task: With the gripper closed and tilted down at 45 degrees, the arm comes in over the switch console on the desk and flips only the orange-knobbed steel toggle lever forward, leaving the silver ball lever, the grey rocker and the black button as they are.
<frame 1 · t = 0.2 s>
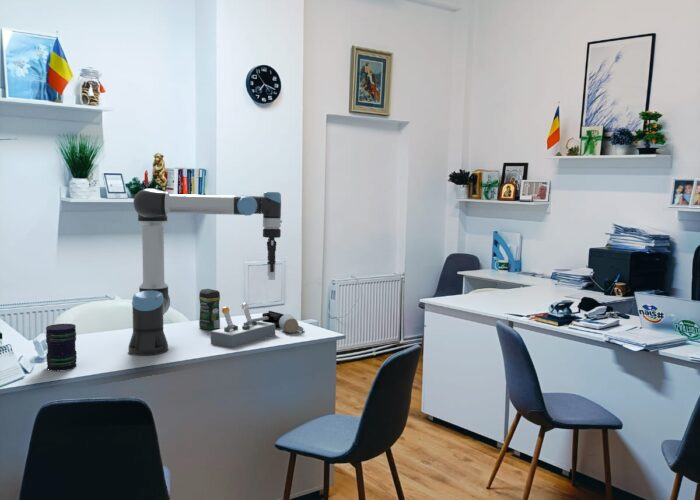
hand: (271, 277, 265), 28 cm above the table, tool pointing down, fingers open, 13 cm apart
console: (244, 339, 271), on the table
ceramic mug: (291, 332, 287), on the table
silver ball lever: (247, 313, 274), point 10 cm above the table, hinge at -25.0°
storage jar: (62, 367, 224), on the table
lever orange: (228, 318, 264), point 10 cm above the table, hinge at -25.0°
coffee jar: (209, 328, 291), on the table
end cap: (274, 326, 298), on the table
rocker grey: (259, 318, 279), point 7 cm above the table, hinge at -12.0°
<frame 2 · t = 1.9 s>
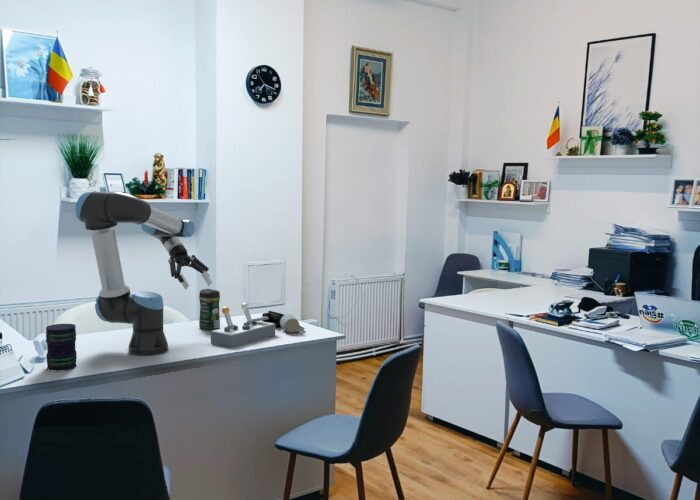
hand: (199, 285, 273), 23 cm above the table, tool tilted 45°, fingers open, 13 cm apart
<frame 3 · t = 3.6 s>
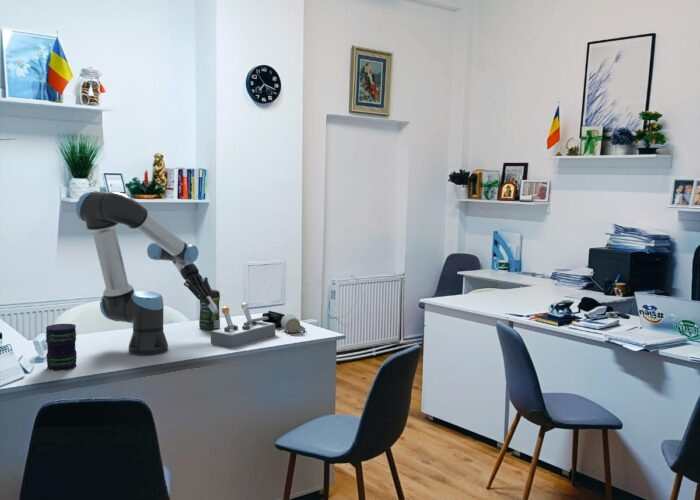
hand: (214, 309, 270), 13 cm above the table, tool tilted 45°, fingers closed
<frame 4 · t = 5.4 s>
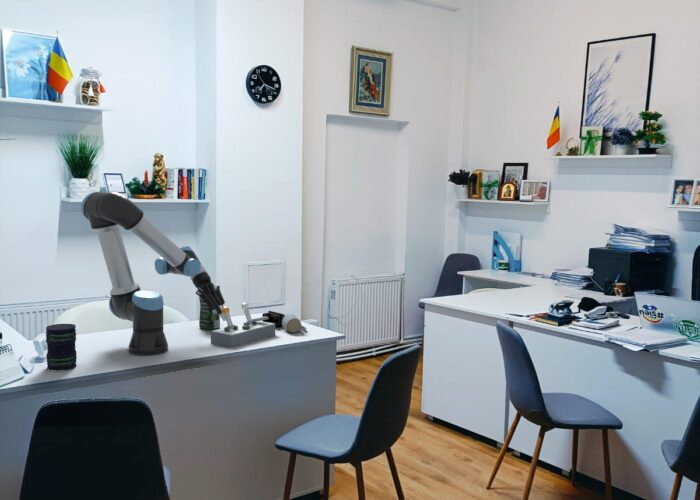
hand: (226, 319, 266), 10 cm above the table, tool tilted 45°, fingers closed
lever orange: (228, 318, 264), point 10 cm above the table, hinge at -24.6°, touching gripper
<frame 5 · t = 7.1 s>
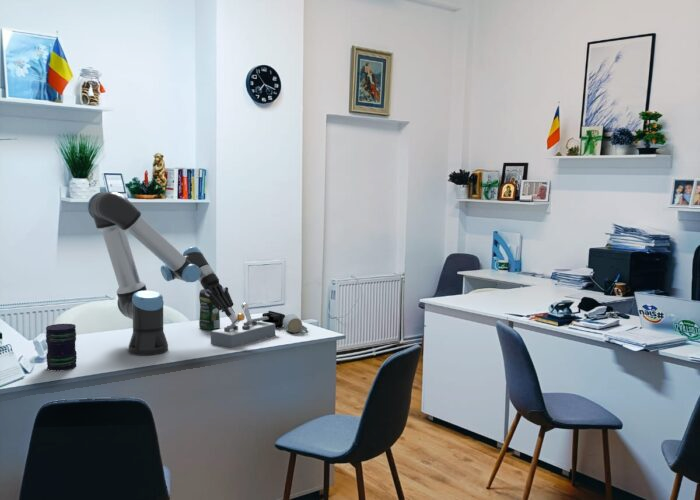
hand: (235, 321, 263), 9 cm above the table, tool tilted 45°, fingers closed
lever orange: (236, 321, 262), point 9 cm above the table, hinge at 47.1°, touching gripper
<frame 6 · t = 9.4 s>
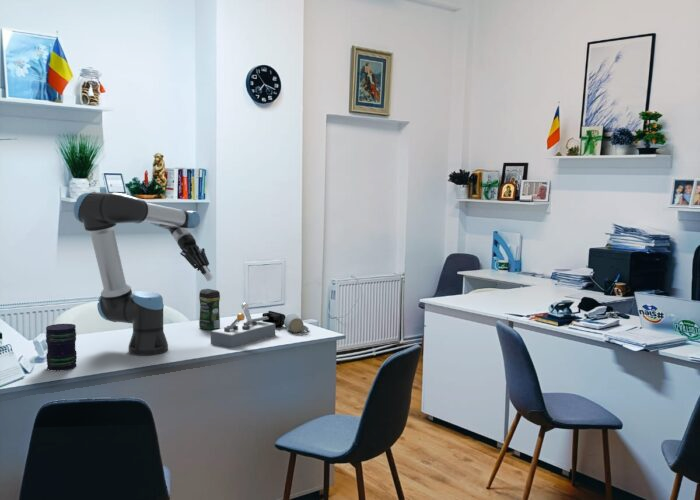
hand: (210, 279, 272), 26 cm above the table, tool tilted 45°, fingers closed
lever orange: (236, 321, 262), point 9 cm above the table, hinge at 47.1°
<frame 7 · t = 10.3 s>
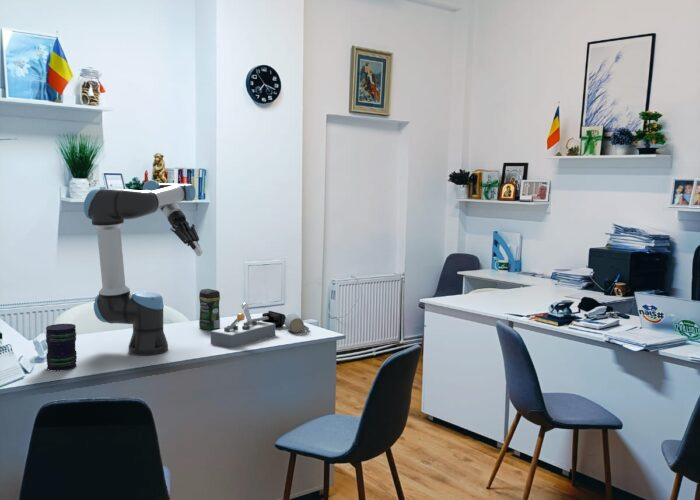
hand: (200, 254, 276), 36 cm above the table, tool tilted 45°, fingers closed
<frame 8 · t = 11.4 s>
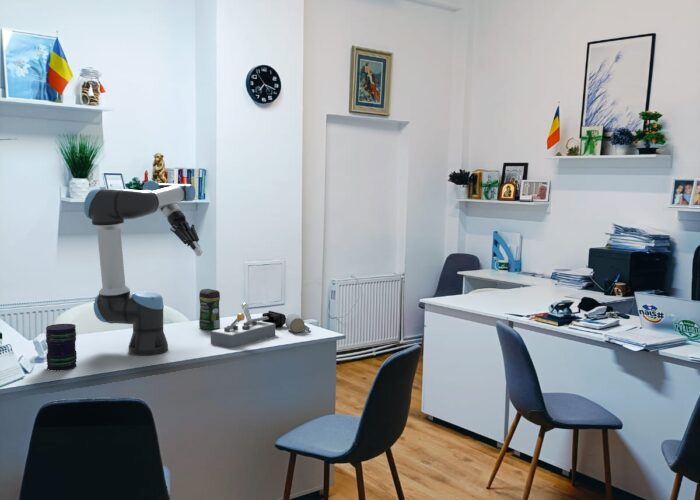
hand: (200, 254, 276), 36 cm above the table, tool tilted 45°, fingers closed
at the end: lever orange at +47° (first picture: -25°); silver ball lever at -25° (first picture: -25°); rocker grey at -12° (first picture: -12°) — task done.
